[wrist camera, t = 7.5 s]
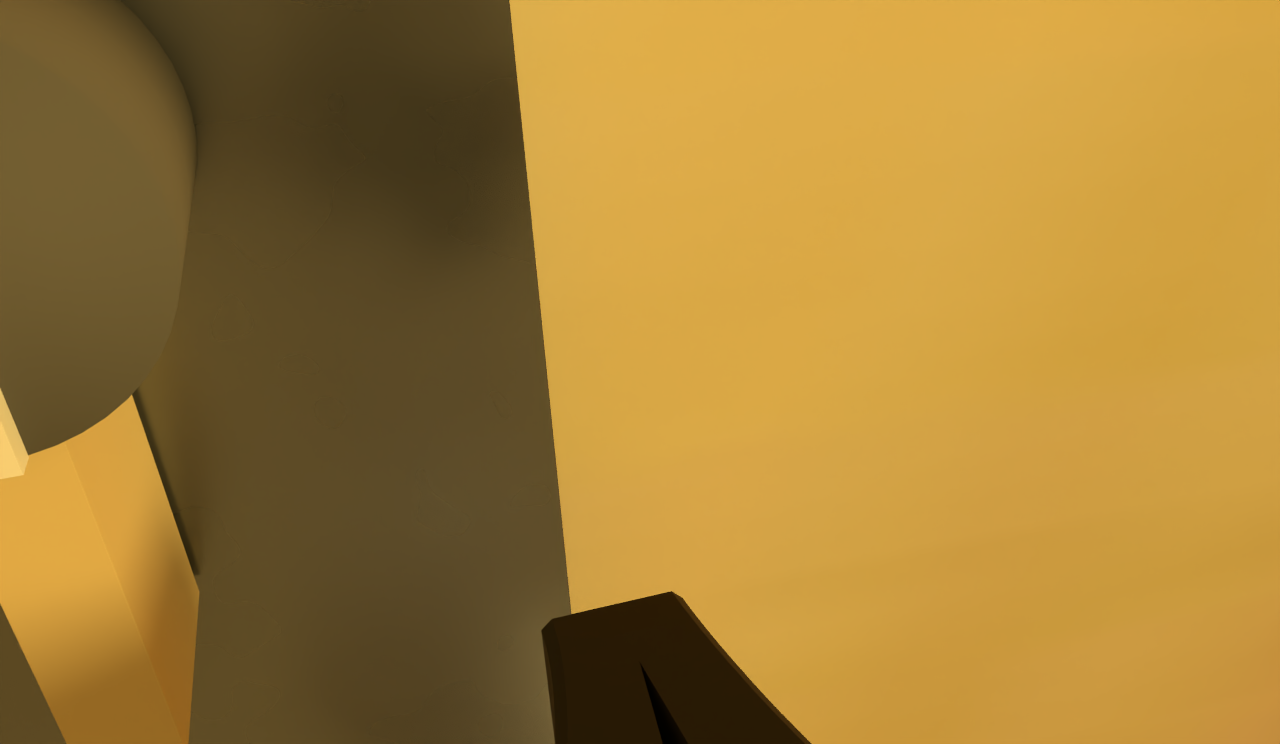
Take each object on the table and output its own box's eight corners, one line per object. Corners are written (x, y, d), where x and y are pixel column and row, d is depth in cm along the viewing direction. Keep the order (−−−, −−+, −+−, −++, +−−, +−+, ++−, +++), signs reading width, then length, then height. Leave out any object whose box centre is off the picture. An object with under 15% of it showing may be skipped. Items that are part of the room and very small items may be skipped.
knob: (-348, -53, 11) (-567, 49, 8) (138, -95, 12) (95, -17, 9) (-11, 636, 16) (-72, 850, 13) (312, 568, 17) (322, 755, 14)
